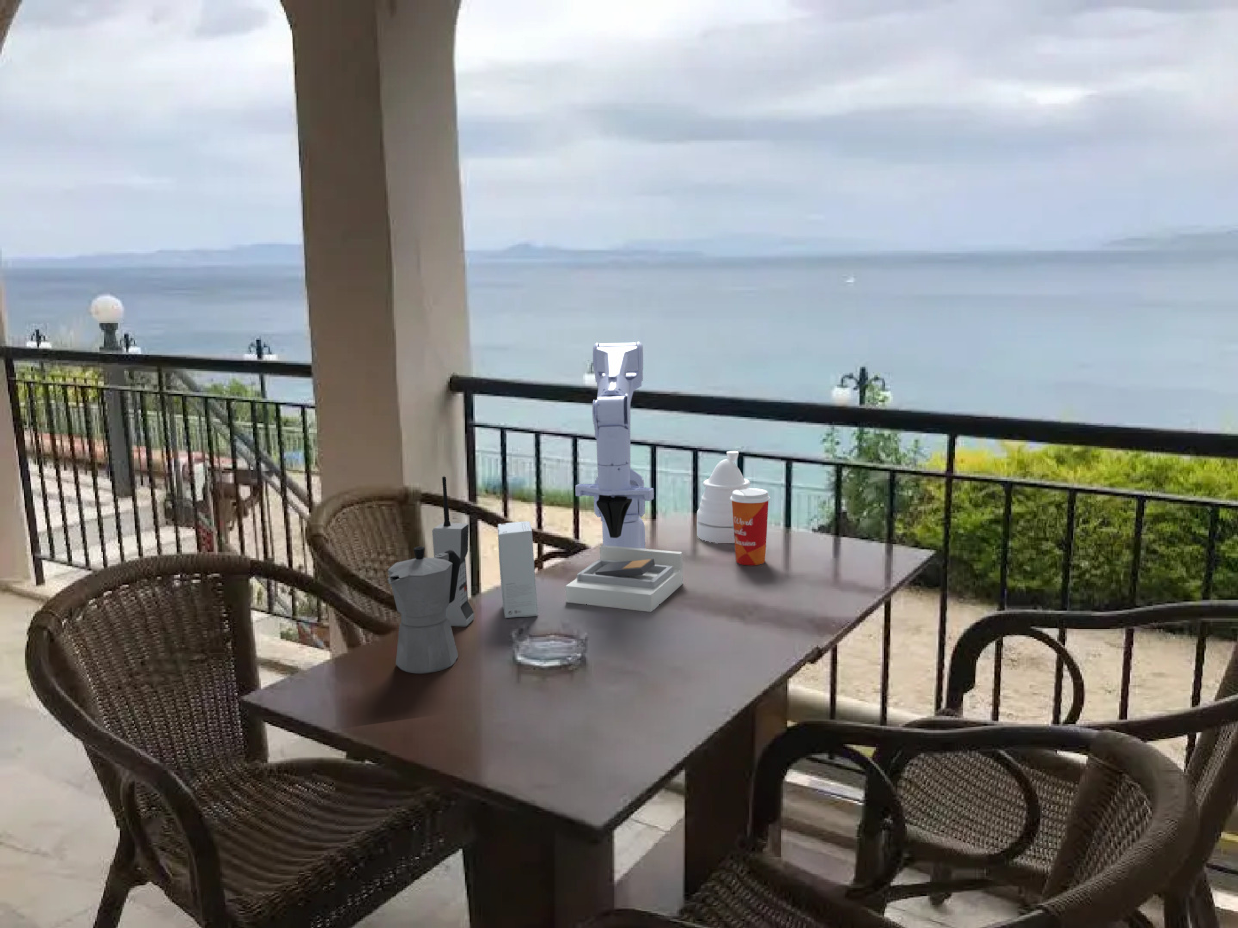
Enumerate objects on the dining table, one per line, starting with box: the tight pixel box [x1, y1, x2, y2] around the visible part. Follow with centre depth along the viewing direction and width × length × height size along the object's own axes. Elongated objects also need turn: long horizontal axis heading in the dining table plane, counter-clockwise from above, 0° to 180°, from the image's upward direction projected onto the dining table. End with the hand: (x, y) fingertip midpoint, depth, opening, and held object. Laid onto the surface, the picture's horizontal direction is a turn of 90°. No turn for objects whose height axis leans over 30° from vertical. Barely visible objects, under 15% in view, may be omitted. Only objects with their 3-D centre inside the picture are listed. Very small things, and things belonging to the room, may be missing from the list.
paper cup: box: [730, 487, 771, 566], centre depth 195 cm, size 8×8×14 cm
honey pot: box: [696, 450, 751, 544], centre depth 214 cm, size 13×13×18 cm
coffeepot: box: [387, 545, 460, 674], centre depth 150 cm, size 15×9×18 cm, turn 150°
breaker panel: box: [565, 544, 684, 613], centre depth 180 cm, size 16×16×6 cm
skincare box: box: [497, 520, 539, 619], centre depth 172 cm, size 8×6×15 cm
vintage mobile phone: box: [431, 475, 475, 628], centre depth 165 cm, size 4×5×25 cm
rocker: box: [595, 559, 655, 577], centre depth 179 cm, size 6×9×1 cm, turn 67°
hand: (615, 536), depth 182 cm, fingers closed
